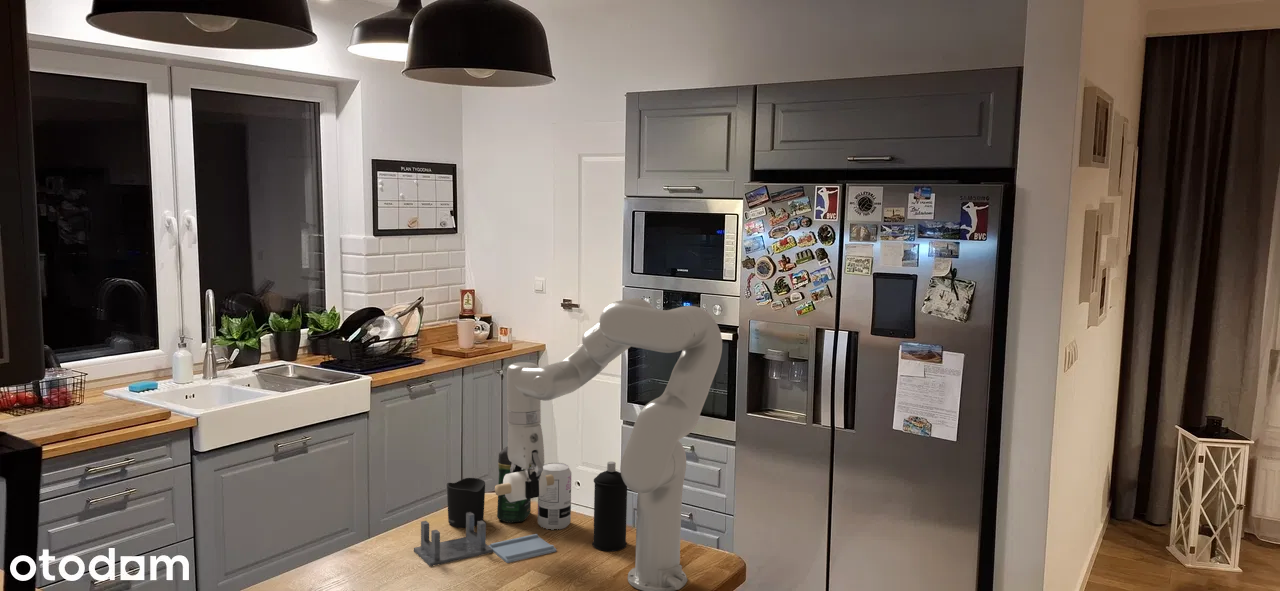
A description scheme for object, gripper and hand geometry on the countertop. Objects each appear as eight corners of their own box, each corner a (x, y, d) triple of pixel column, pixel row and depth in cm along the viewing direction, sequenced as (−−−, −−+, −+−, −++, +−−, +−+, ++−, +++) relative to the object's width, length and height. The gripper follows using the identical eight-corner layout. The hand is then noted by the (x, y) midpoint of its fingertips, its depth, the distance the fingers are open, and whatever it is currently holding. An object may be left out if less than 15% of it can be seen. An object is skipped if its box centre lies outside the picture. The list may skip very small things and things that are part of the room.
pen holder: (448, 515, 220) (448, 477, 219) (486, 515, 221) (486, 477, 220) (444, 529, 211) (444, 489, 210) (483, 528, 212) (483, 489, 211)
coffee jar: (524, 524, 215) (525, 452, 213) (493, 522, 216) (494, 450, 215) (534, 511, 225) (535, 442, 223) (505, 509, 226) (505, 440, 224)
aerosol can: (631, 549, 202) (634, 466, 200) (598, 553, 199) (600, 469, 197) (619, 536, 209) (621, 456, 207) (587, 540, 206) (589, 459, 204)
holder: (474, 538, 206) (474, 509, 205) (492, 552, 198) (492, 523, 197) (413, 551, 197) (413, 521, 197) (430, 566, 189) (430, 535, 188)
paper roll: (545, 489, 205) (545, 463, 204) (558, 496, 200) (558, 469, 199) (491, 500, 197) (490, 473, 196) (503, 508, 192) (503, 479, 191)
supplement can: (533, 521, 218) (534, 463, 216) (564, 517, 221) (565, 460, 220) (543, 532, 210) (544, 473, 209) (575, 528, 214) (576, 469, 212)
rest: (536, 537, 207) (536, 532, 207) (556, 551, 199) (556, 546, 199) (487, 548, 200) (488, 542, 200) (506, 563, 192) (507, 557, 192)
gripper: (557, 422, 192) (557, 500, 193) (521, 408, 206) (522, 481, 207) (526, 426, 187) (527, 507, 189) (492, 412, 201) (494, 486, 203)
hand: (525, 492), depth 198 cm, fingers closed on paper roll, 6 cm apart
